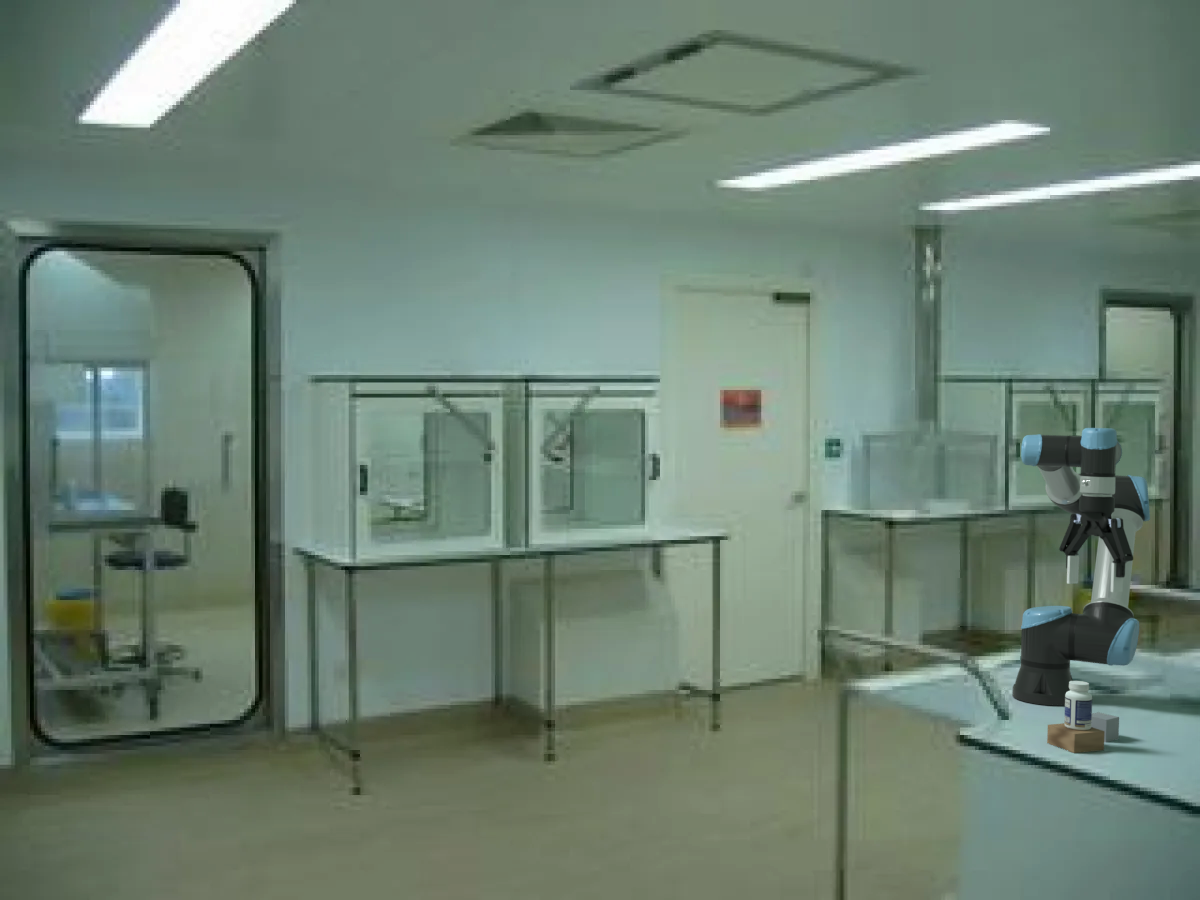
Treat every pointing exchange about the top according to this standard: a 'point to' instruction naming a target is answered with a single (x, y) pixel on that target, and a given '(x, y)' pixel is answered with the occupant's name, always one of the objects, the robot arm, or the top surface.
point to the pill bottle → (1078, 706)
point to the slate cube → (1106, 725)
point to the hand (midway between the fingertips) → (1094, 587)
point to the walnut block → (1075, 738)
